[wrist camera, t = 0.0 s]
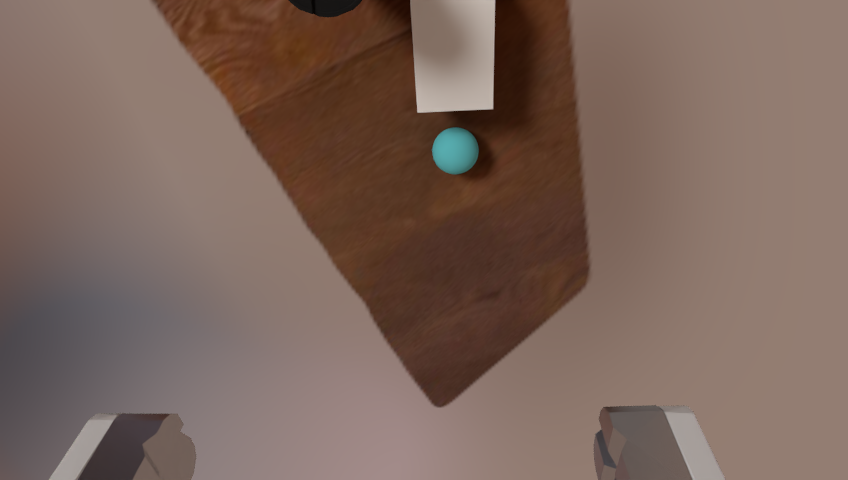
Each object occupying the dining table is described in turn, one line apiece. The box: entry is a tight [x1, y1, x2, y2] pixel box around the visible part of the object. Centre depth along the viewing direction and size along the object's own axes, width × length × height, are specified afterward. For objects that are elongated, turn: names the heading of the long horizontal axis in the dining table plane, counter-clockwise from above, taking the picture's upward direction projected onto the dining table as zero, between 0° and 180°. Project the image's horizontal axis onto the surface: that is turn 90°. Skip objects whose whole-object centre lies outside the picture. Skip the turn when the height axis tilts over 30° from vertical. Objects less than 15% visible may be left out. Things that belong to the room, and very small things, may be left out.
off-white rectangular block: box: [410, 0, 495, 113], centre depth 48 cm, size 11×7×8 cm, turn 3°
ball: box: [432, 127, 479, 174], centre depth 56 cm, size 5×5×5 cm
